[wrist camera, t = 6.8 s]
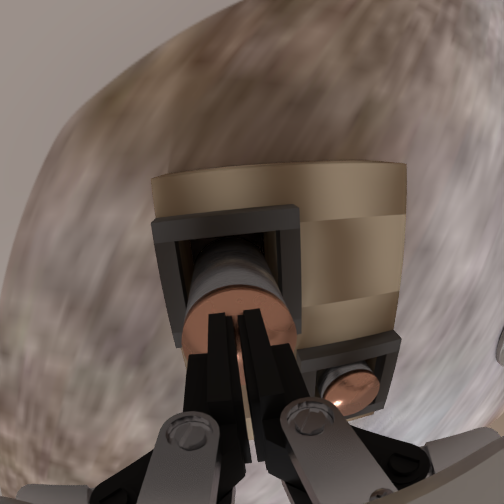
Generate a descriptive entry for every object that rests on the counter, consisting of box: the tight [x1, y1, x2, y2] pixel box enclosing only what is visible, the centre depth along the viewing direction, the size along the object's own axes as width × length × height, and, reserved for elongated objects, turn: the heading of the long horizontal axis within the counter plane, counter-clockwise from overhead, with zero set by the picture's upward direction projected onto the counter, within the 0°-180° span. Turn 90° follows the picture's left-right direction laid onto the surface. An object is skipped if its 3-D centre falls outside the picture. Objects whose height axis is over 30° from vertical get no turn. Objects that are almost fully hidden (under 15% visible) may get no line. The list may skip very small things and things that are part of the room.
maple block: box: [151, 160, 407, 440], centre depth 19 cm, size 14×20×6 cm
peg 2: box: [316, 360, 380, 416], centre depth 21 cm, size 4×4×7 cm
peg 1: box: [182, 237, 297, 385], centre depth 13 cm, size 4×4×7 cm
